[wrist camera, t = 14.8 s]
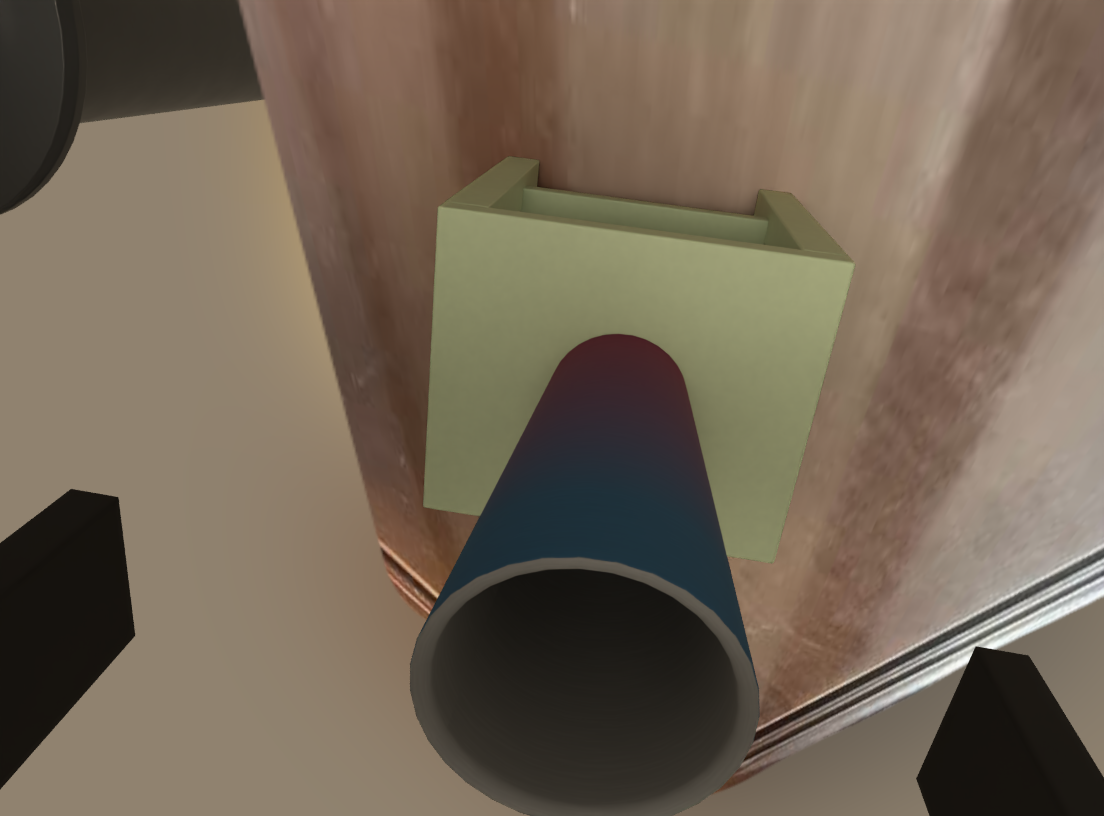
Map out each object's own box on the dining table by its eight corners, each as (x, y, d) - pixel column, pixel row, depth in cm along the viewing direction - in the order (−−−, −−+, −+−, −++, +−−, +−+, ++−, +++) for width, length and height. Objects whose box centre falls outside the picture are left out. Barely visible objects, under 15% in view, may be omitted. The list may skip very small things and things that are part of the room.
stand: (489, 378, 45) (422, 508, 32) (508, 155, 40) (437, 205, 27) (740, 415, 44) (773, 564, 31) (792, 193, 39) (856, 263, 26)
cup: (674, 279, 27) (687, 511, 14) (738, 448, 29) (806, 793, 16) (494, 348, 29) (347, 613, 15) (568, 502, 31) (497, 853, 18)
